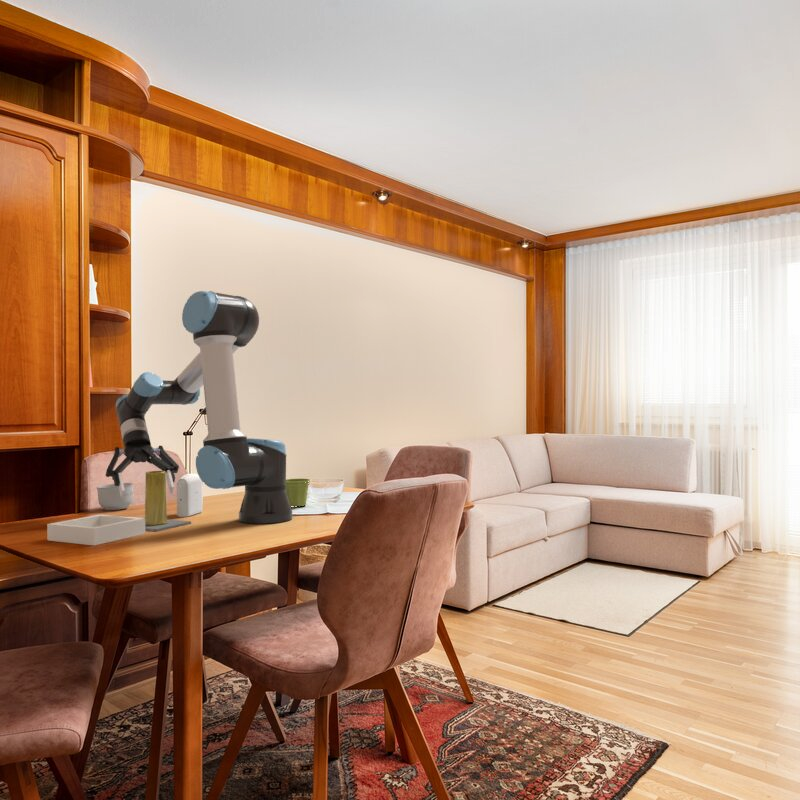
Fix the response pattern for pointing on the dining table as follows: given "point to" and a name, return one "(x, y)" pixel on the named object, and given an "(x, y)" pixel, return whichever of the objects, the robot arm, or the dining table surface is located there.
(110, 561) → the dining table surface
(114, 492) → the teacup
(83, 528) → the tub
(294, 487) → the plant pot
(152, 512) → the vase
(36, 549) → the dining table surface
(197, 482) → the photo printer
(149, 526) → the mat
